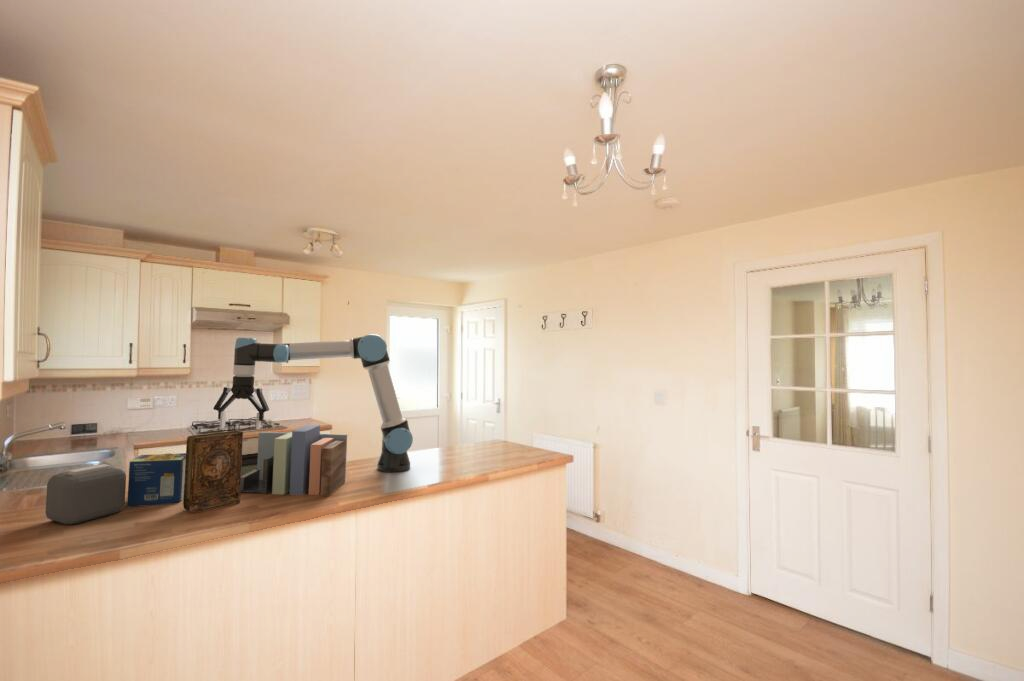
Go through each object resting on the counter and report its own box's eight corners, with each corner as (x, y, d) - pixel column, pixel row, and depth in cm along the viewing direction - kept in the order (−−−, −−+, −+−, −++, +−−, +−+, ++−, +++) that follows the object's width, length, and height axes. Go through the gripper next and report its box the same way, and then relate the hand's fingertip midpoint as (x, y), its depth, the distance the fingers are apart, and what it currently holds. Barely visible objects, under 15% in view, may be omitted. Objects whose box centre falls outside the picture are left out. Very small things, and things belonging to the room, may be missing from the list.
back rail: (345, 482, 195) (347, 434, 196) (344, 482, 194) (346, 434, 195) (258, 480, 194) (260, 432, 195) (256, 481, 193) (258, 432, 193)
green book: (300, 483, 192) (302, 432, 193) (284, 494, 177) (286, 439, 178) (289, 482, 192) (291, 431, 192) (272, 494, 177) (274, 438, 178)
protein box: (138, 497, 168) (140, 454, 168) (188, 494, 173) (190, 452, 174) (125, 507, 158) (128, 461, 158) (179, 503, 164) (181, 459, 164)
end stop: (344, 483, 194) (345, 439, 194) (329, 496, 177) (331, 448, 177) (335, 483, 194) (337, 439, 194) (320, 495, 177) (322, 448, 177)
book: (235, 499, 170) (238, 430, 170) (242, 502, 166) (245, 432, 167) (182, 510, 157) (186, 436, 157) (189, 514, 153) (192, 438, 154)
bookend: (285, 481, 192) (286, 450, 193) (266, 493, 176) (267, 459, 177) (256, 481, 192) (258, 449, 192) (235, 493, 176) (236, 458, 176)
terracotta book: (331, 484, 192) (333, 438, 193) (319, 494, 178) (321, 444, 179) (322, 483, 192) (324, 437, 192) (308, 494, 178) (310, 444, 178)
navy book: (317, 483, 192) (320, 425, 193) (302, 494, 177) (305, 431, 178) (305, 483, 192) (307, 424, 193) (289, 494, 177) (292, 431, 178)
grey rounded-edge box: (107, 506, 158) (109, 460, 158) (128, 511, 154) (130, 464, 154) (44, 522, 143) (47, 471, 143) (66, 528, 139) (69, 476, 139)
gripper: (279, 376, 193) (276, 427, 193) (215, 373, 190) (212, 425, 190) (272, 377, 186) (269, 430, 185) (205, 374, 183) (202, 428, 182)
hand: (240, 428), depth 188 cm, fingers open, 13 cm apart
